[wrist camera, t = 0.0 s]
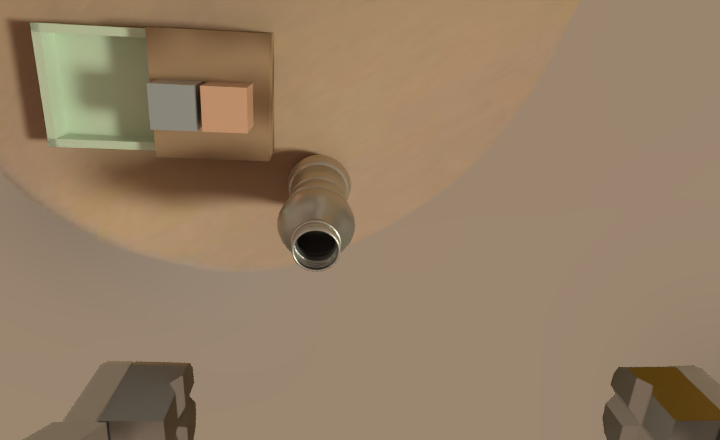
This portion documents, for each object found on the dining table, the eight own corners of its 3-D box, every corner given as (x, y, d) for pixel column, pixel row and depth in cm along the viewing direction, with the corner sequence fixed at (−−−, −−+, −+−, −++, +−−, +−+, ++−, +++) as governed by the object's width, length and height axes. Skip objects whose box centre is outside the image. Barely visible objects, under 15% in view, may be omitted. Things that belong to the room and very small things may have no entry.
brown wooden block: (161, 26, 52) (145, 26, 47) (273, 33, 52) (268, 33, 48) (170, 146, 56) (155, 157, 51) (274, 150, 57) (269, 161, 52)
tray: (46, 22, 51) (29, 22, 48) (158, 28, 52) (148, 28, 49) (62, 140, 55) (48, 146, 52) (167, 144, 56) (158, 150, 53)
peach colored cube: (209, 81, 49) (199, 85, 45) (252, 83, 49) (246, 87, 45) (211, 123, 50) (202, 131, 47) (253, 125, 51) (247, 133, 47)
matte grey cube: (160, 78, 49) (146, 83, 45) (204, 80, 49) (194, 85, 45) (163, 121, 50) (150, 129, 46) (206, 123, 50) (196, 131, 46)
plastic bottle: (344, 210, 59) (352, 294, 41) (285, 201, 59) (265, 282, 40) (354, 155, 57) (368, 217, 39) (293, 145, 57) (277, 203, 38)
